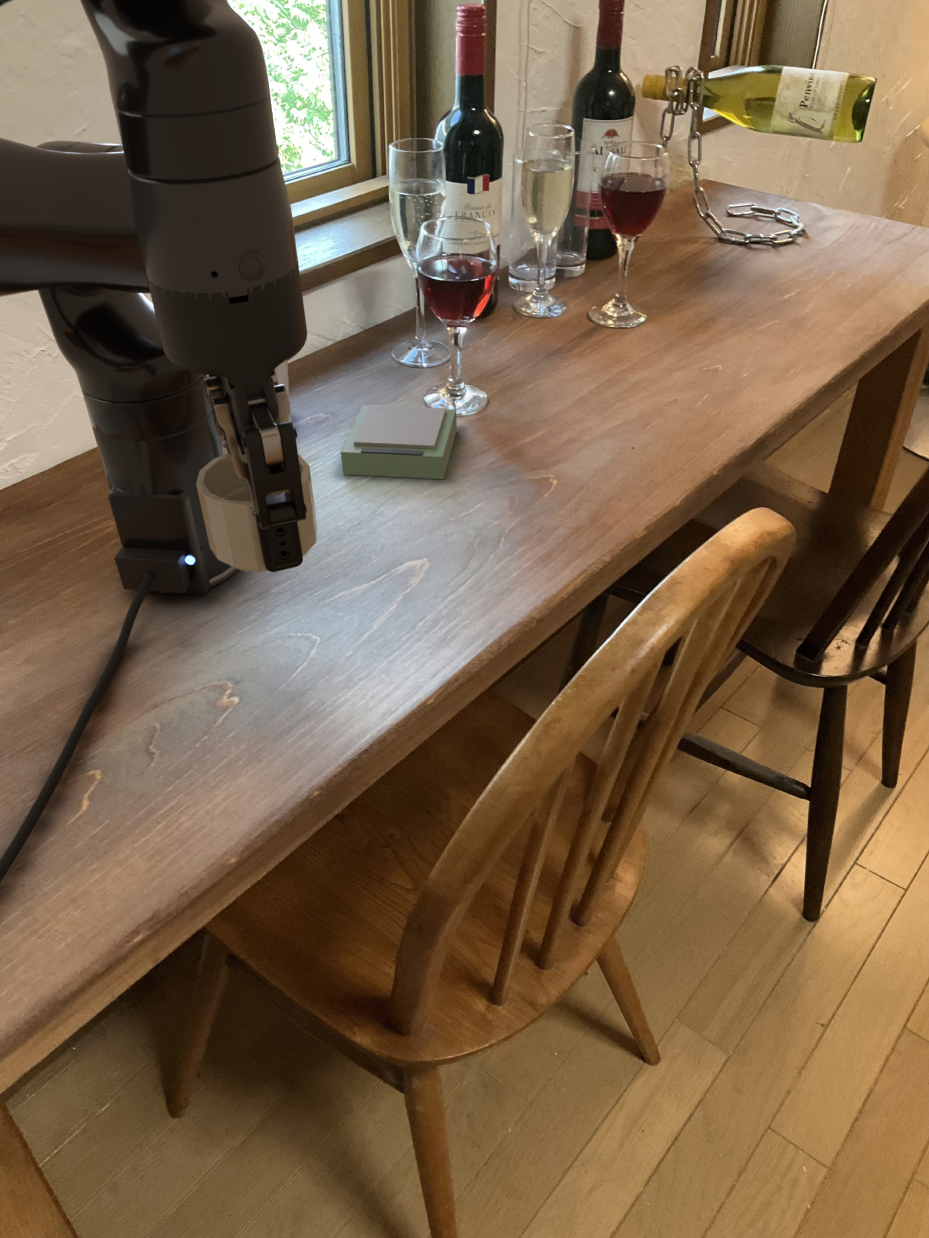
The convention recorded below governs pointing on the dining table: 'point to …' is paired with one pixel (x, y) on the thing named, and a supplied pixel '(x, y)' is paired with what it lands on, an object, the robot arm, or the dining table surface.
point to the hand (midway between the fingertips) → (270, 533)
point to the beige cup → (243, 514)
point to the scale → (400, 442)
